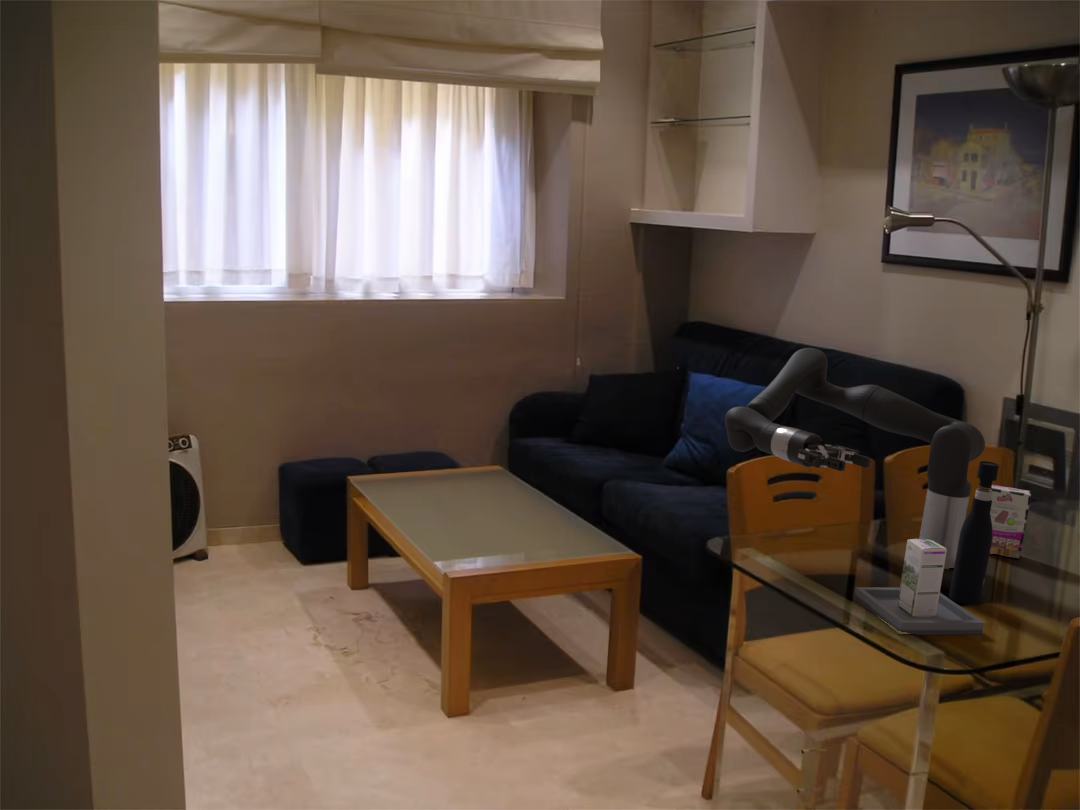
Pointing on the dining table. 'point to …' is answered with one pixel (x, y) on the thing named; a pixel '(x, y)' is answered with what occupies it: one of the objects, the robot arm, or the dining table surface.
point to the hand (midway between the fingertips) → (856, 464)
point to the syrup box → (921, 577)
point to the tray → (944, 623)
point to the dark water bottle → (975, 541)
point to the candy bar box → (1009, 517)
